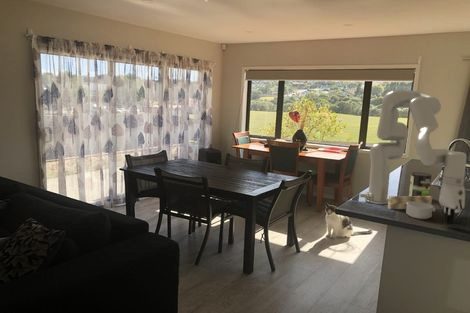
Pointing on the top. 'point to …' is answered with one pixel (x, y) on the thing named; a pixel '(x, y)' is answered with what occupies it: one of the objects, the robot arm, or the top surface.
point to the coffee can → (420, 184)
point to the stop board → (401, 201)
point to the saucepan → (420, 210)
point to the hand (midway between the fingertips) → (448, 223)
